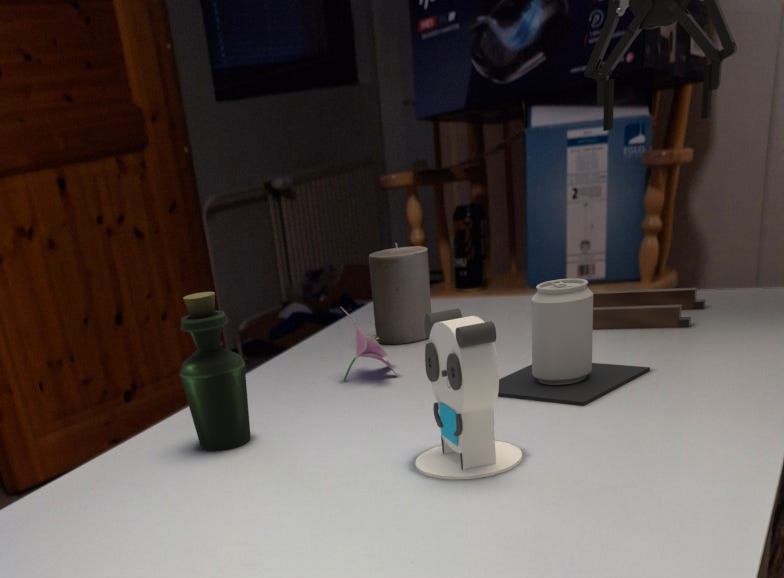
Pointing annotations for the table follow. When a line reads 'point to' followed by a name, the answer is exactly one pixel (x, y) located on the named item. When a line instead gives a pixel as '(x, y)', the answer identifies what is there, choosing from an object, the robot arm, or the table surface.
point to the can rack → (644, 308)
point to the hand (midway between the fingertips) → (655, 124)
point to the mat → (576, 393)
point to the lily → (367, 347)
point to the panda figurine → (464, 399)
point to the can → (562, 331)
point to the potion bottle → (214, 378)
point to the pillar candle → (400, 293)
